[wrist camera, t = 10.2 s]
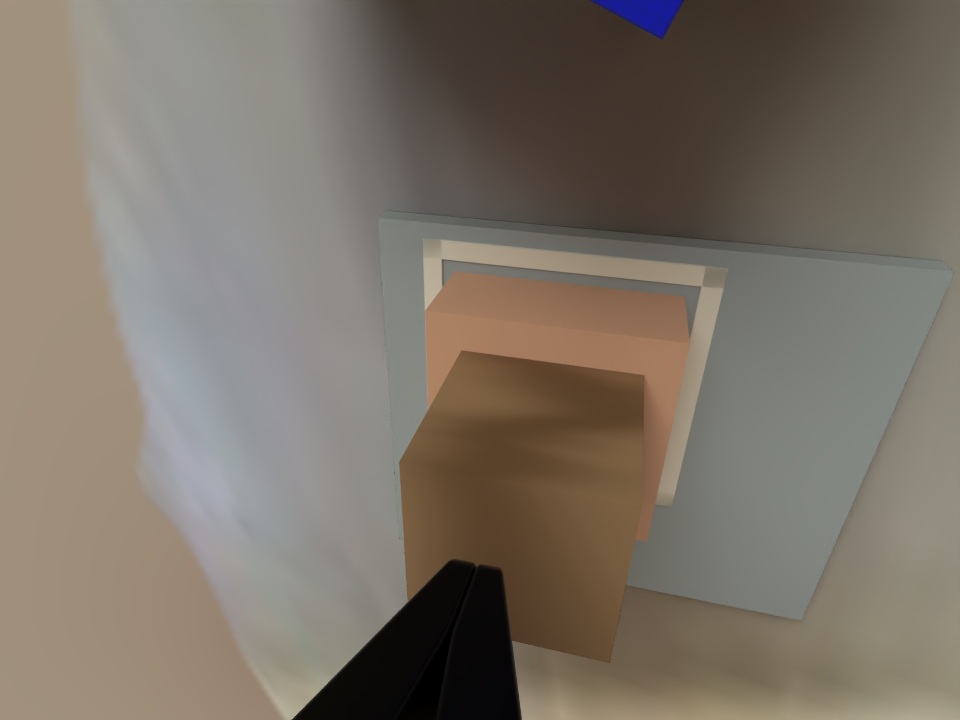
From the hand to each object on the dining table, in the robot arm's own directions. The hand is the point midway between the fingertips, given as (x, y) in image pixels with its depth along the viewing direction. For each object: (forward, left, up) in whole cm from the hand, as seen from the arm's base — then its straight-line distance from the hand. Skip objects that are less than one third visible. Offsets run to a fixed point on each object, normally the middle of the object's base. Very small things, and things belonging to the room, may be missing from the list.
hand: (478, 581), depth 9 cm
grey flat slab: (-2, +5, -12) cm, 13 cm away
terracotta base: (0, +3, -11) cm, 11 cm away
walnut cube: (0, +3, -8) cm, 9 cm away
